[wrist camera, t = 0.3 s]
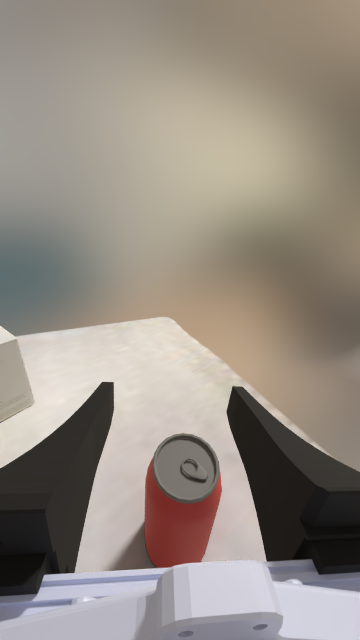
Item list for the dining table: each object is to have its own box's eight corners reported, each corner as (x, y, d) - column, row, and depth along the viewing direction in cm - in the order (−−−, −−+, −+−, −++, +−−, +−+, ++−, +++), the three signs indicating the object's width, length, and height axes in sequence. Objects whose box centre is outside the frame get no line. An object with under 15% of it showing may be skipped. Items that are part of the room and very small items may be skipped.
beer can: (187, 601, 19) (205, 534, 14) (130, 545, 22) (128, 474, 17) (216, 521, 24) (237, 452, 19) (167, 485, 27) (174, 416, 22)
